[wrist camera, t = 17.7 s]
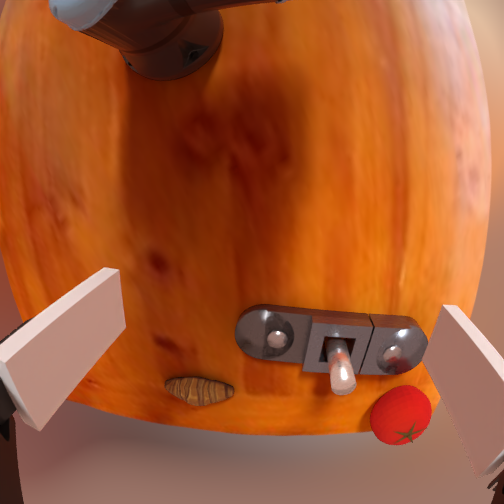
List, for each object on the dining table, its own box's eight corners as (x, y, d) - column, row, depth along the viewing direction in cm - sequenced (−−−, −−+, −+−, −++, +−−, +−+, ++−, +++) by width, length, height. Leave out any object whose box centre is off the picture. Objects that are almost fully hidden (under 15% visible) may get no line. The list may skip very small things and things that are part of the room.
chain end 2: (301, 355, 47) (302, 373, 43) (311, 308, 44) (313, 324, 40) (410, 360, 46) (417, 376, 41) (426, 317, 43) (437, 331, 38)
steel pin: (322, 343, 46) (329, 394, 35) (326, 326, 45) (335, 376, 34) (341, 344, 46) (352, 395, 35) (345, 328, 45) (359, 377, 34)
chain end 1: (235, 348, 48) (232, 357, 46) (238, 300, 45) (235, 309, 43) (353, 359, 47) (356, 368, 44) (367, 313, 44) (370, 322, 41)
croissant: (233, 372, 50) (228, 391, 46) (236, 398, 52) (232, 417, 48) (163, 366, 52) (153, 383, 47) (170, 392, 54) (162, 409, 49)
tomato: (398, 420, 51) (409, 457, 41) (355, 411, 50) (362, 452, 41) (433, 381, 47) (451, 417, 37) (390, 369, 47) (405, 409, 37)
